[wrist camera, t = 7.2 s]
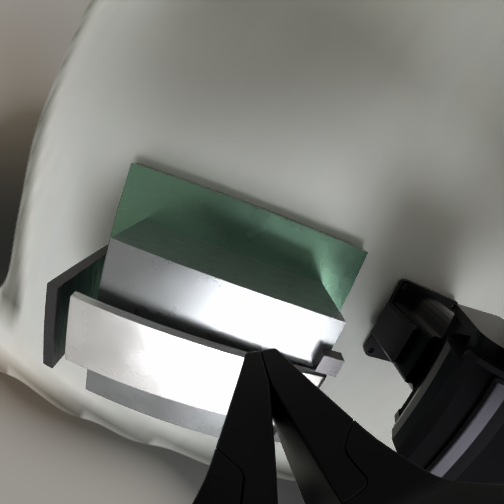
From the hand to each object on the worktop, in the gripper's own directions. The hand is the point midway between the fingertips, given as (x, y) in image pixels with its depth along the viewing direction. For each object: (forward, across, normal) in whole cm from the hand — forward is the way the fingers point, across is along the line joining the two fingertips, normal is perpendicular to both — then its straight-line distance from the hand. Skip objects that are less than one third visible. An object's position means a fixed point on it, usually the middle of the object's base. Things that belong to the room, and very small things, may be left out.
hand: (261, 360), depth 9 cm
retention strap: (+5, +3, +5) cm, 8 cm away
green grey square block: (+12, +2, +7) cm, 14 cm away
